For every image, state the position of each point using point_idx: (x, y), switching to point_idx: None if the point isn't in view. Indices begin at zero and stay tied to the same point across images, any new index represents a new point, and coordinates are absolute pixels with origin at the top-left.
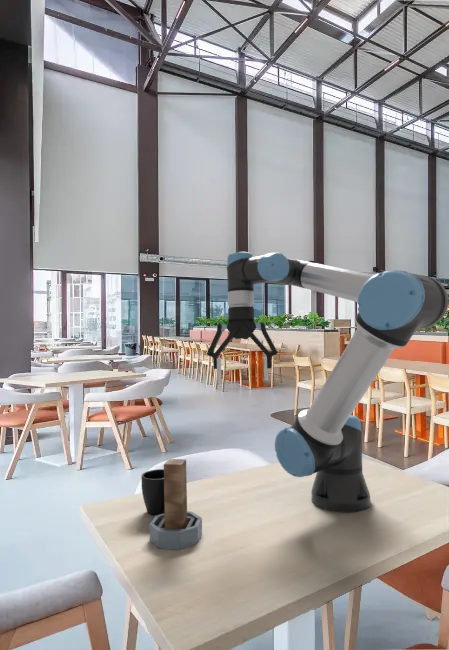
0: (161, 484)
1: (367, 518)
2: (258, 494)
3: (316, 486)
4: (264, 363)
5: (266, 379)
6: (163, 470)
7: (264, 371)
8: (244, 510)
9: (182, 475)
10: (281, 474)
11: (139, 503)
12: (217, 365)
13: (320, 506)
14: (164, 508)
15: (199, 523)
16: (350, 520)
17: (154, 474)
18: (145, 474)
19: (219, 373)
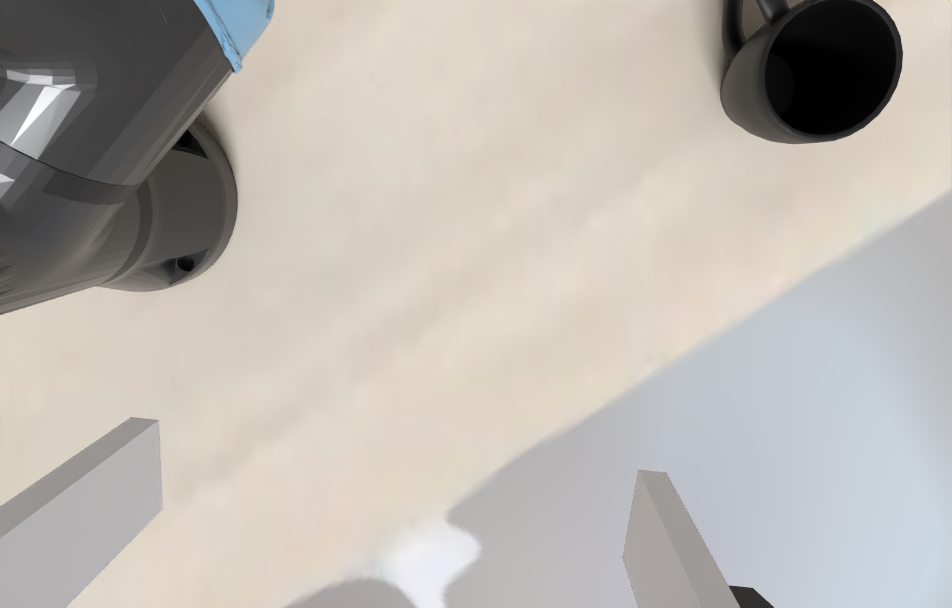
0: (795, 5)
1: None
2: (416, 251)
3: (191, 167)
4: (6, 533)
5: (131, 421)
6: (807, 133)
7: (92, 469)
8: (460, 107)
9: None
10: (337, 446)
11: (835, 161)
12: (724, 593)
13: (209, 133)
14: (742, 44)
15: None
16: None
17: (839, 128)
18: (883, 89)
19: (662, 516)
